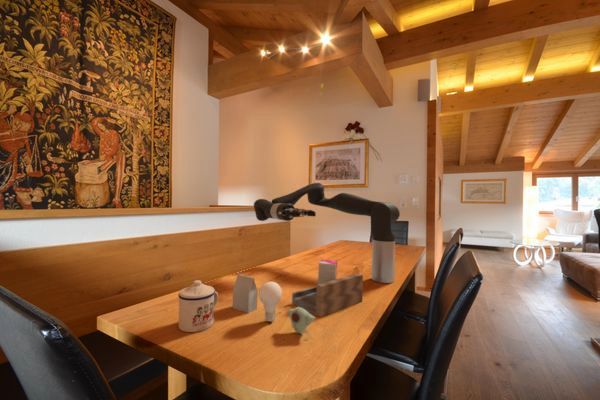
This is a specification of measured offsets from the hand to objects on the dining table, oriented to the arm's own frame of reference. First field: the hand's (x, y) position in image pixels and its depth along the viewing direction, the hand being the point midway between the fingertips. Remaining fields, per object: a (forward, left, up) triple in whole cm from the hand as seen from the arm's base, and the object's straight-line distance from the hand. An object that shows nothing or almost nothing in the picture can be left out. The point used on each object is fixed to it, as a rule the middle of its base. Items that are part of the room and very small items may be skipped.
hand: (307, 214), depth 108 cm
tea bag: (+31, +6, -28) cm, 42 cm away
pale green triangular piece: (+28, +28, -28) cm, 49 cm away
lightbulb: (+30, +18, -28) cm, 45 cm away
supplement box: (+7, +18, -26) cm, 33 cm away
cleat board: (+7, +18, -28) cm, 34 cm away
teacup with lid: (+45, +7, -28) cm, 54 cm away
